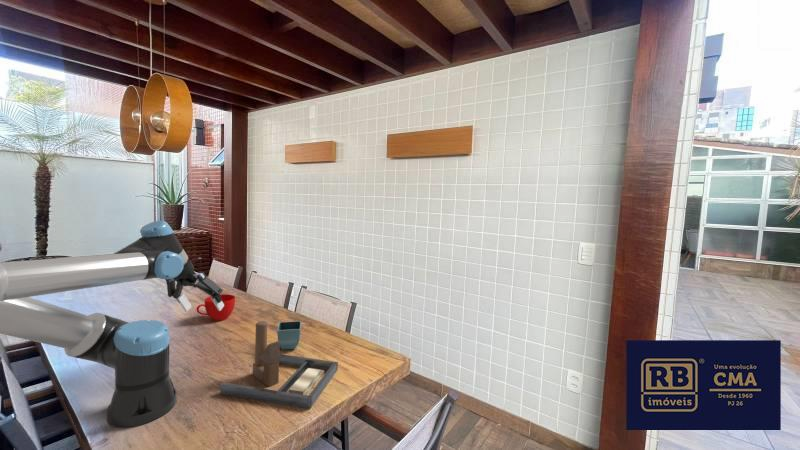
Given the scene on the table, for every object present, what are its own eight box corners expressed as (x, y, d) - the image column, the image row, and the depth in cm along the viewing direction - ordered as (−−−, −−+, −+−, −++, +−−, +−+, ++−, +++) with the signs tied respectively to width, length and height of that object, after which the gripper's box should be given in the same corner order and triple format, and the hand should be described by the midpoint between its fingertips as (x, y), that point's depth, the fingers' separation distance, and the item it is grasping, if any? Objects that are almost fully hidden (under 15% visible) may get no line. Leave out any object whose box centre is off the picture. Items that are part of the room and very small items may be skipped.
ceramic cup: (190, 321, 152) (190, 300, 151) (226, 311, 166) (226, 292, 165) (203, 328, 144) (203, 306, 144) (240, 318, 159) (240, 297, 158)
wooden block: (268, 387, 103) (269, 332, 101) (252, 374, 110) (253, 322, 108) (279, 382, 105) (280, 329, 104) (262, 370, 112) (263, 319, 111)
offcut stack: (302, 402, 97) (302, 392, 97) (287, 399, 98) (287, 390, 97) (324, 374, 113) (324, 366, 112) (310, 372, 113) (310, 364, 113)
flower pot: (276, 352, 125) (276, 330, 125) (278, 343, 134) (279, 321, 133) (300, 351, 128) (300, 329, 127) (300, 341, 136) (301, 320, 136)
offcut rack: (310, 408, 93) (310, 398, 93) (220, 394, 98) (220, 384, 98) (337, 370, 115) (337, 362, 115) (262, 359, 120) (262, 351, 119)
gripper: (216, 255, 110) (240, 300, 121) (152, 258, 114) (182, 301, 125) (203, 269, 104) (230, 315, 115) (136, 272, 107) (168, 316, 119)
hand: (205, 308), depth 120 cm, fingers open, 13 cm apart
